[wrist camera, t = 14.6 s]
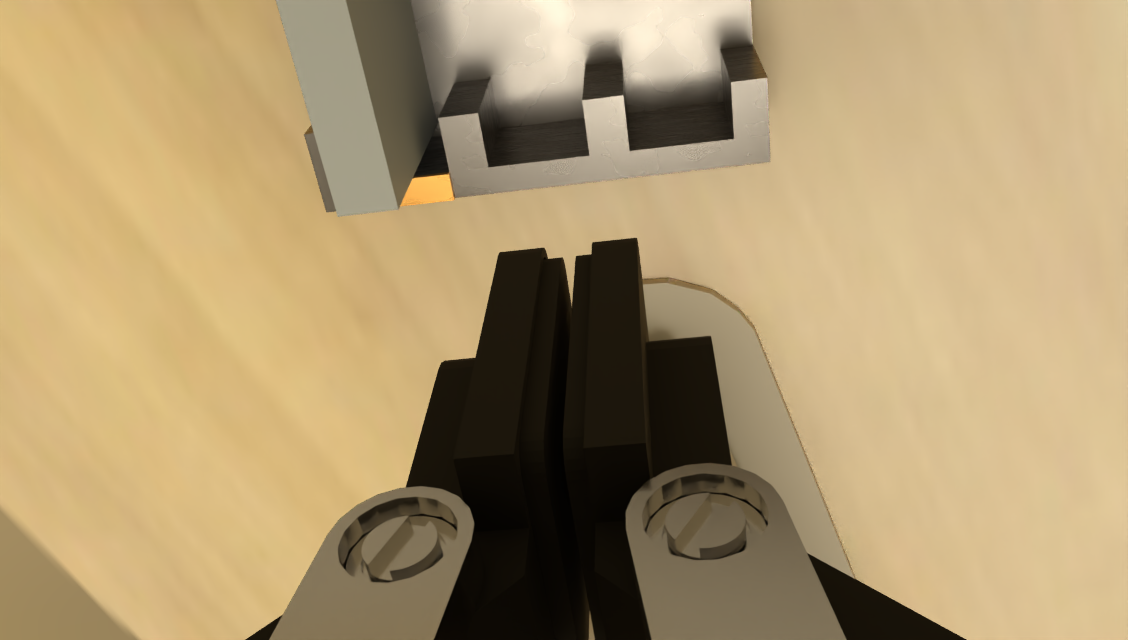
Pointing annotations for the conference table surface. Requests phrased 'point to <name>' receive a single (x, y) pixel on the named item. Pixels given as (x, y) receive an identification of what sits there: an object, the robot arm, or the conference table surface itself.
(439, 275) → the conference table surface
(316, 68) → the panel
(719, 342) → the wireless router
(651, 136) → the rack
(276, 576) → the conference table surface
